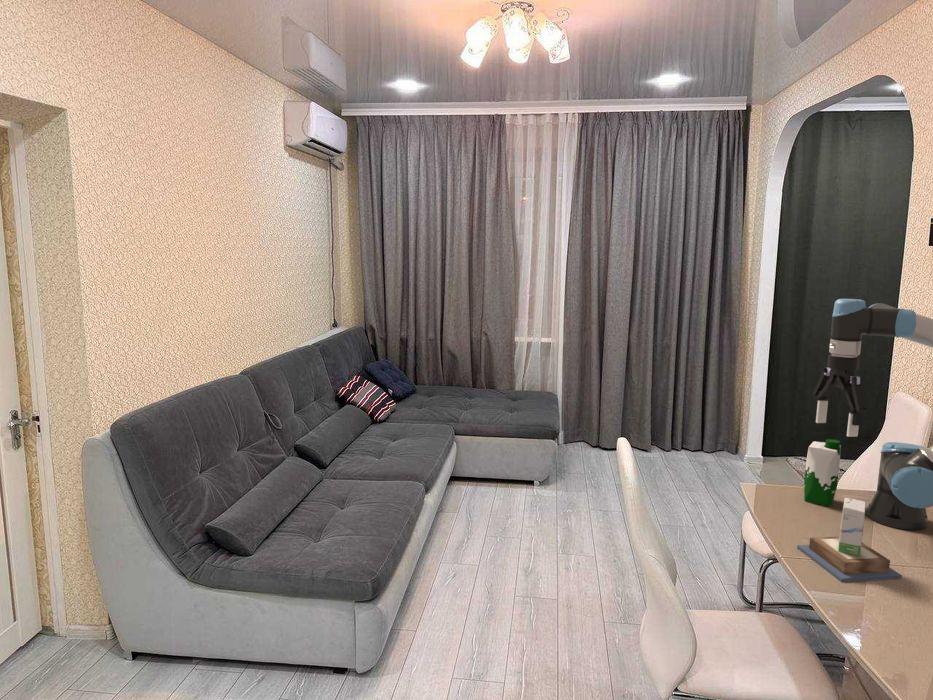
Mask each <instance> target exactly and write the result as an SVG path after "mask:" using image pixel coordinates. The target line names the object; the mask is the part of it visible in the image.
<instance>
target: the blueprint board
mask: <svg viewBox="0 0 933 700" xmlns="http://www.w3.org/2000/svg"><path fill="white" fill-rule="evenodd" d="M796 548H797V549H798V550H799V551H800V552H802V554H804V555H805V556H807V557H808V558H809V559H811V560H812V561H813V562H815V564H817V565H819V566H820V568H823V569H824V570H825V569H826V570H825V571H826V572H828V573H829V572H830V573H829V574H831V576H833V577H834V578H836V579H837V580H838V581H840V582H841V583H842V582H843V581H845V582H858V581H859V582H860V581H862V580H864V581H877V580H879V581H881V580H882V579H884V580H897V579H896V578H902V579H903V574H900V573H899V572H898V571H896V570H894V568H891V566H890V567H889V572H878V573H858V574H843V573H842V572H840V571H839V570H838V569H836V568H835V567H833V566H832V565H831V564H829V563H828V562H827V561H825V560H824V559H823V558H821V557H820V556H819V555H817V554H816V553H815V552H813V551H812V550H810V549H809V544H801V545H800V544H797V546H796ZM875 579H876V580H875ZM882 581H883V580H882ZM843 583H844V582H843Z"/></svg>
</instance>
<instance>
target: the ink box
mask: <svg viewBox="0 0 933 700" xmlns="http://www.w3.org/2000/svg"><path fill="white" fill-rule="evenodd" d="M841 512H842V514H841V521H840V529H839V536H840V538H839V549H838V551H839V552H843V553H847V554H852V555H857V556H860V550H861V543H863V534H864V526H865V525H864V524H865V515H866V501H863V500H859V499H854V498H851V497H844V502H843V506H842V511H841Z"/></svg>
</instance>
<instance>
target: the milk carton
mask: <svg viewBox="0 0 933 700" xmlns="http://www.w3.org/2000/svg"><path fill="white" fill-rule="evenodd" d="M841 447H842V445H841V441H840V440H839V439H833V438H827V439H825V442H824V441H812V443H811V444H810V445H809V446H808V449H807V455H806V461H805V469H804V470H805V471H804V472H805V473H804V481H803V482H804V483H803V489H804V490H803V493H804V496H803V497H804V499H803V500H804V502H808V503H812V504H815V505H821V506H826V507H830V506H831V505H832V503H833V502H834V499H835V495H836V491H837V487H838V479H839V470H840V461H841V449H842V448H841Z"/></svg>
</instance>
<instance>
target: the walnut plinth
mask: <svg viewBox="0 0 933 700" xmlns="http://www.w3.org/2000/svg"><path fill="white" fill-rule="evenodd" d="M839 538H840V535H839V536H821V537H820V536H818V537H809V544H808V545H809V549H810V550H812V551H813V552H815V553H816V554H817V555H819V556H820V557H821V558H823V559H824V560H825V561H827V562H828V563H829V564H831V565H832V566H833V567H835V568H836V569H838V570H839V571H840V572H842V573H843V574H858V573H878V572H889V567H890V568H891V566H890V565H891V560H890V559H889V558H887V557H885V555H884V556H883V555H882V554H881V553H879V552H878V551H876V550H874V549H873V548H872V547H870V546H869V545H867V544H866V543H863V542H862V543H861V550H860V556H857V555H852V554H847V553H843V552H839V551H838V549H839Z"/></svg>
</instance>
